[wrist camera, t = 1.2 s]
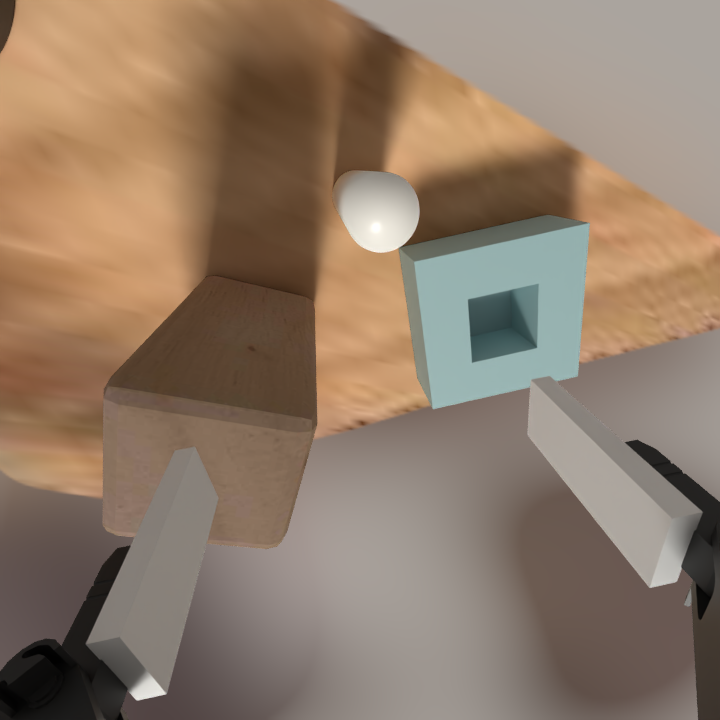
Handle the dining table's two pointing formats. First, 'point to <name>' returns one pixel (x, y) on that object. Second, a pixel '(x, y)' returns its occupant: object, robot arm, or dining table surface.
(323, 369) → the dining table surface
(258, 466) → the wooden block
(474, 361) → the socket
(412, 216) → the peg
